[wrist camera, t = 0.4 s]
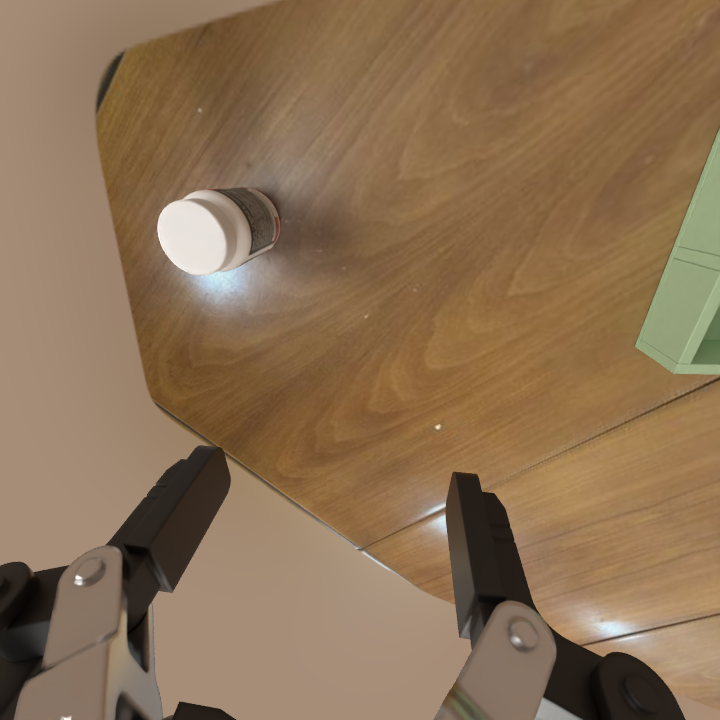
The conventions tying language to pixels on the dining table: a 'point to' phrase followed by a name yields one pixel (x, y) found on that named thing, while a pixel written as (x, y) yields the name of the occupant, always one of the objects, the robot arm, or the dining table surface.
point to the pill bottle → (218, 229)
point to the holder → (690, 287)
